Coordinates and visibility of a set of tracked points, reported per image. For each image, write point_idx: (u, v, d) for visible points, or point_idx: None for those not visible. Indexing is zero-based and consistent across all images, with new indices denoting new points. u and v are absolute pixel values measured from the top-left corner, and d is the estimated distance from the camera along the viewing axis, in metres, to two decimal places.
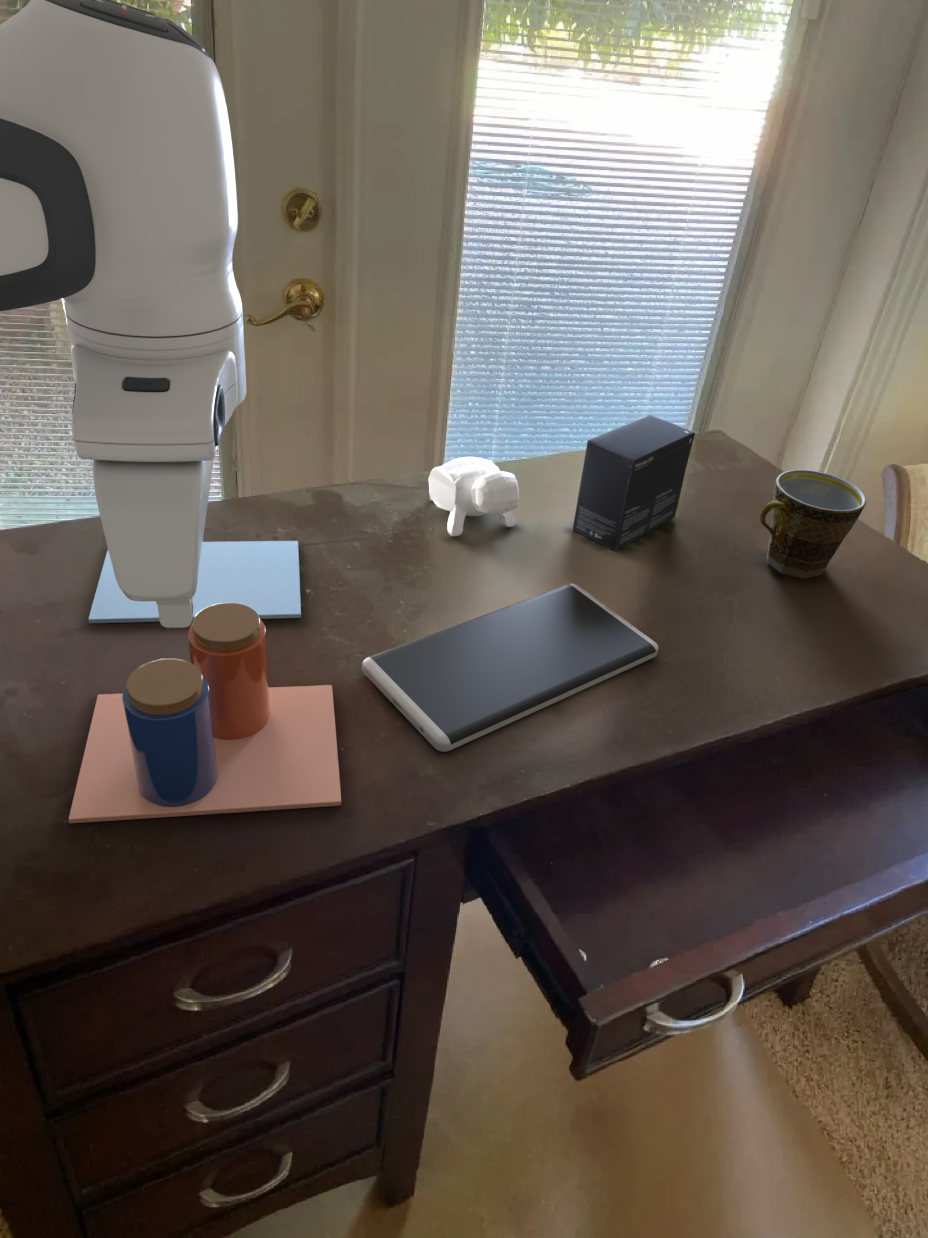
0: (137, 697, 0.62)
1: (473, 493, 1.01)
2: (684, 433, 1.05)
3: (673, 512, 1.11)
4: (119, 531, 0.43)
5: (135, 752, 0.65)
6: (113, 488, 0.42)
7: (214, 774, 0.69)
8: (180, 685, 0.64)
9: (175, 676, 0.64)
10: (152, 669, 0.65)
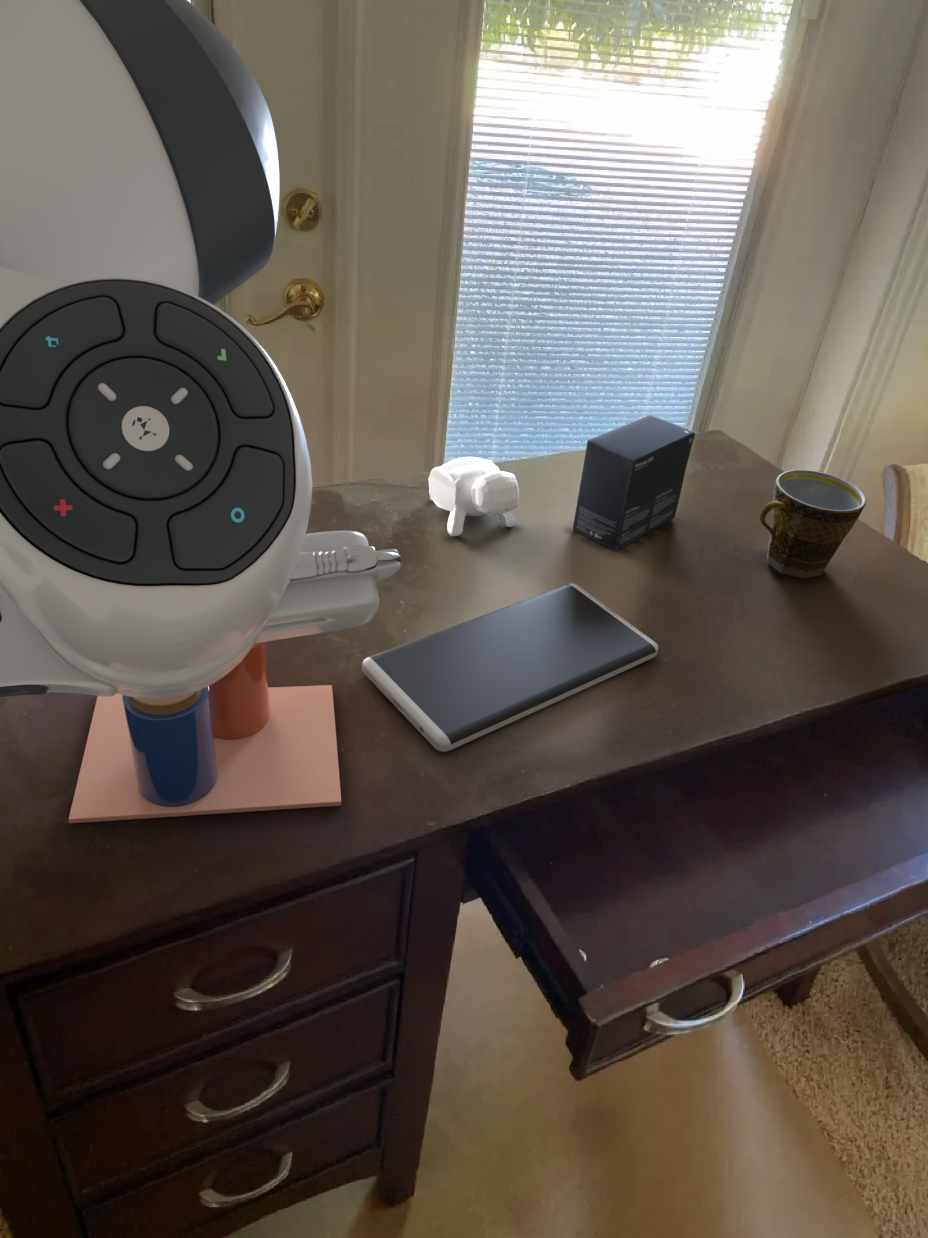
0: None
1: (473, 493, 1.01)
2: (684, 433, 1.05)
3: (673, 512, 1.11)
4: None
5: (135, 752, 0.65)
6: None
7: (214, 774, 0.69)
8: None
9: None
10: None
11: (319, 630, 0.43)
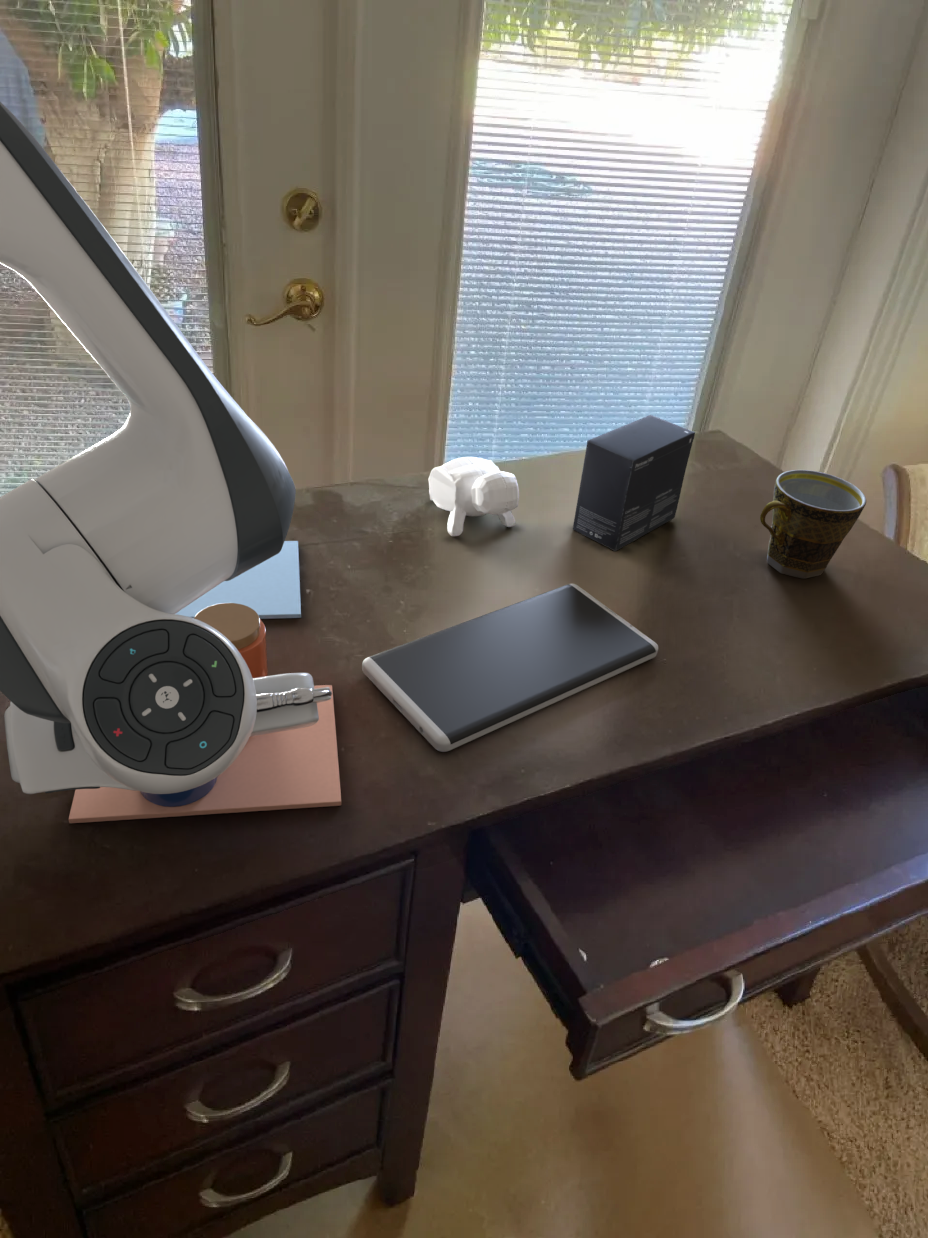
0: None
1: (473, 493, 1.01)
2: (684, 433, 1.05)
3: (673, 512, 1.11)
4: None
5: None
6: (9, 719, 0.54)
7: None
8: None
9: None
10: None
11: (279, 731, 0.63)
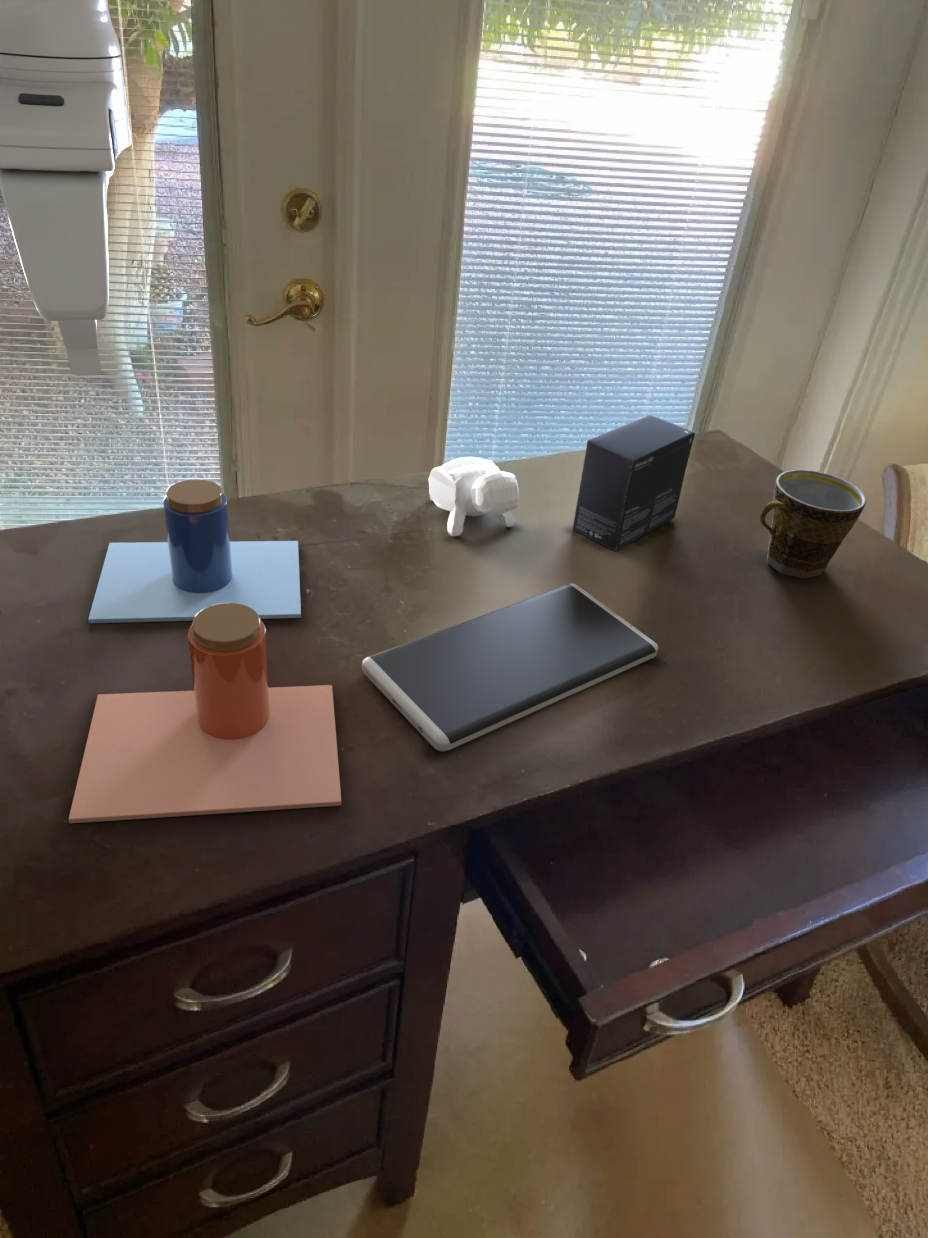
0: (175, 499, 0.85)
1: (473, 493, 1.01)
2: (684, 433, 1.05)
3: (673, 512, 1.11)
4: (31, 238, 0.46)
5: (172, 547, 0.87)
6: (21, 194, 0.45)
7: (230, 572, 0.91)
8: (206, 493, 0.86)
9: (202, 489, 0.87)
10: (184, 484, 0.87)
11: None
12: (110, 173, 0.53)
